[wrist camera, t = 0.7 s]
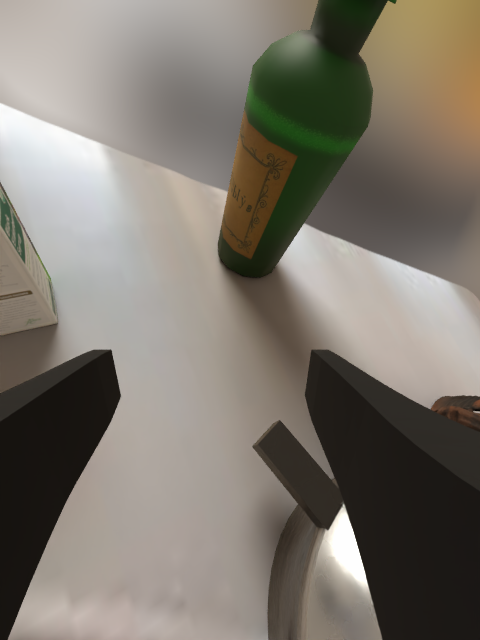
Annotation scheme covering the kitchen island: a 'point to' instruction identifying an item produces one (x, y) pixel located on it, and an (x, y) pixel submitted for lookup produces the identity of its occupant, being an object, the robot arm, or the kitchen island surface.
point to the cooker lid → (322, 547)
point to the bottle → (296, 132)
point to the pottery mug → (460, 410)
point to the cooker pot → (289, 575)
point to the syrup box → (21, 277)
